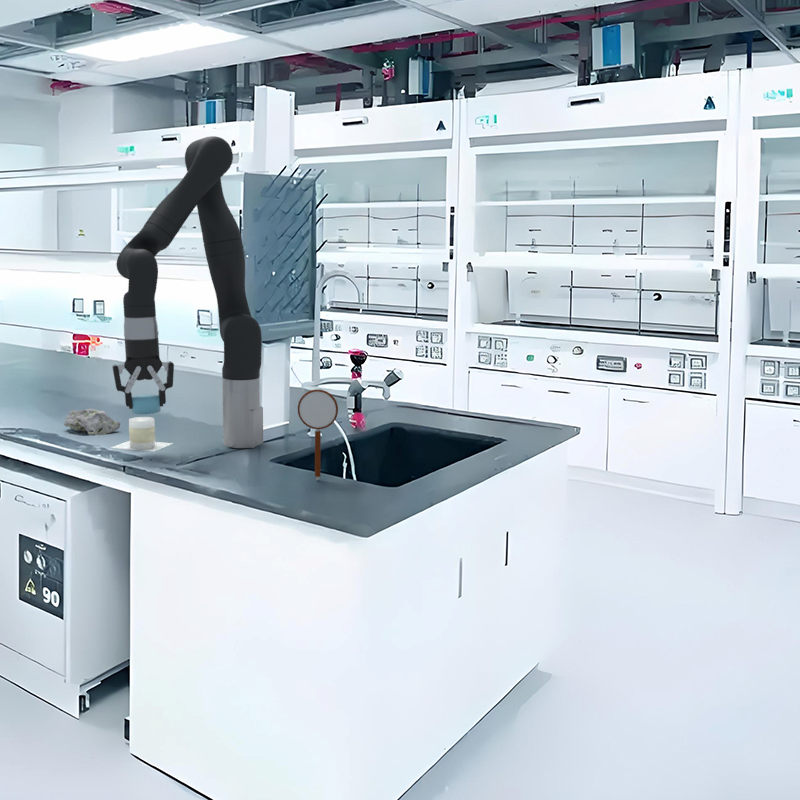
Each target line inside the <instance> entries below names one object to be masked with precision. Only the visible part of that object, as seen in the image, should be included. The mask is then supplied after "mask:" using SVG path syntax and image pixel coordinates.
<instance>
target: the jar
mask: <svg viewBox="0 0 800 800" xmlns="http://www.w3.org/2000/svg"><path fill="white" fill-rule="evenodd" d="M128 437H129V440H128V441H130V448H131V449H134V450H133V451H140V450H147V449H152V448H155V442H156V425H155V418H154V417H151V416H137V417H132V418H131V417H130V418H129V419H128Z"/></svg>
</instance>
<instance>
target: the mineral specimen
mask: <svg viewBox="0 0 800 800" xmlns="http://www.w3.org/2000/svg"><path fill="white" fill-rule="evenodd" d="M63 425H64V426H65V427H69V428H70V429H71V430H75V431H77V432H87V434H88V436H100V435H102V436H104V435H107V434H110V433H113V432H114V431H118V430H119V429H120V427H121V422H119V421H115V420H114V419H113V418H111V417H110V416H109V415H108V414H107V413H106V411H104V410H98V409H94V408H91V407H90V408H87V409H80V410H75V409H72V410H70V411H69V412H67V415H66V417H65V421H64V423H63Z"/></svg>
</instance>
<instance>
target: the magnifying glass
mask: <svg viewBox="0 0 800 800" xmlns="http://www.w3.org/2000/svg"><path fill="white" fill-rule="evenodd" d="M338 413H339V406H338V402H337V399H336V398H335V397H334V396H333V395H332V394H331V393H330V392H329V391H326V390H323V389H312V390H309V391H306V392H305V393H304V394H303V395H302V396H301V398H299V400H298V405H297V415H298V417H299V419H300V422H302V424H304V426H306V427H308V428H310V429H312V430H313V429H314V430H315V431H314V476H315V480H316V481H317V482H318V481H319V480H320V477H321V456H322V455H321V454H322V453H321V443H322V442H321V439H322V438H321V434H322V433H321V430H323V429H327V428H329V427H330V426H332V425H333V424H334V423H335V421H336V419H337V417H338Z"/></svg>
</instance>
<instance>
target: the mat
mask: <svg viewBox="0 0 800 800" xmlns="http://www.w3.org/2000/svg"><path fill="white" fill-rule="evenodd" d="M171 445H174V443H173V442H161V441H155V448H152V449H147V450H139V451H142V452H144V451H145V452H152V453H154V452H156V451H159V450H162V449H163V448H166V447H169V446H171ZM110 449H119V450H128V451H129V450H131V451H135V450H134V449H131V448H130V441H129V440H127V441H124V442H122V443H120V444H117V445H113V446H111V447H110Z"/></svg>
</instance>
